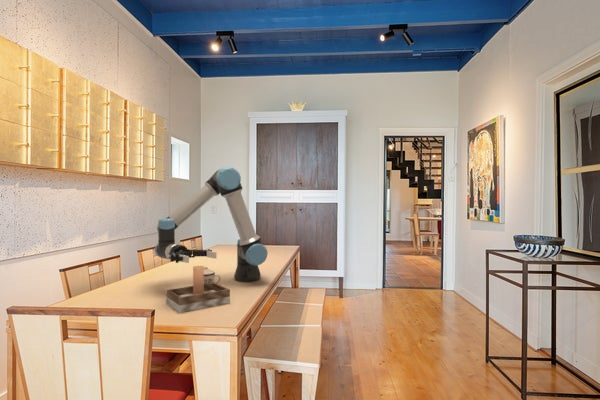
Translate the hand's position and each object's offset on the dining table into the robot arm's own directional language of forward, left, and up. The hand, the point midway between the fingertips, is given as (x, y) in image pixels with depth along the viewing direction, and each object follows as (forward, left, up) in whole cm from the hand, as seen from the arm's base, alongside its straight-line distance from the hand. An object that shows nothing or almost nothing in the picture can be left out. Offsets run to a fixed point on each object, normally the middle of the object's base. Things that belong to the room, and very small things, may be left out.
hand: (202, 257), depth 149 cm
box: (0, -3, -20) cm, 21 cm away
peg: (0, -3, -20) cm, 21 cm away
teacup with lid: (-13, -22, -21) cm, 33 cm away
